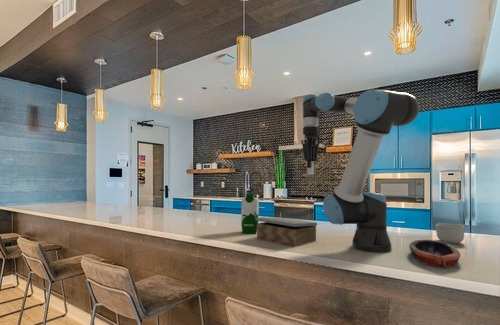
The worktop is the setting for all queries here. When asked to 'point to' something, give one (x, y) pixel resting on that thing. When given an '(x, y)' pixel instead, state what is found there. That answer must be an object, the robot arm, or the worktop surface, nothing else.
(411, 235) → the worktop surface
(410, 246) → the dish
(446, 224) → the teacup
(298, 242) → the walnut box
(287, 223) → the lid
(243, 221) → the milk carton
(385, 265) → the worktop surface
